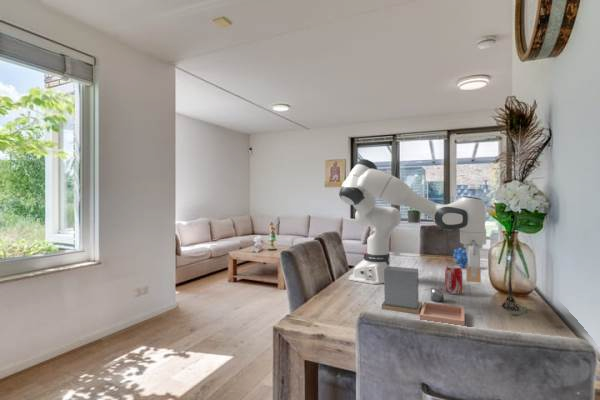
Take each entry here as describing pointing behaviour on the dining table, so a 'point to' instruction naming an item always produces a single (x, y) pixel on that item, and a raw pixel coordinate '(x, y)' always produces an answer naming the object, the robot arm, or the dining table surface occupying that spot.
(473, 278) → the oak wood brick
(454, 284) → the soda can
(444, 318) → the tray
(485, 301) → the dining table surface
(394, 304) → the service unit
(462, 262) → the grapes
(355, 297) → the dining table surface
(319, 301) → the dining table surface
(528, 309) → the eiffel tower figurine
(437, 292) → the steel cylinder
